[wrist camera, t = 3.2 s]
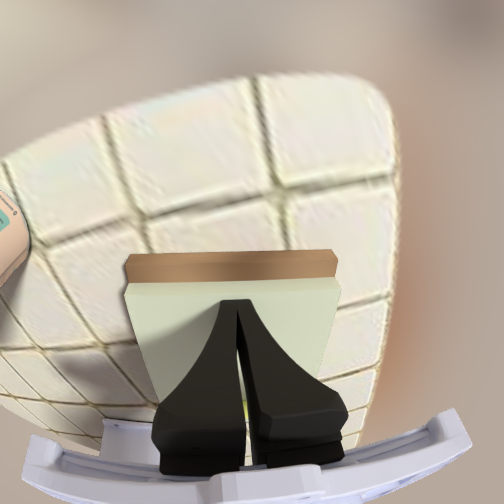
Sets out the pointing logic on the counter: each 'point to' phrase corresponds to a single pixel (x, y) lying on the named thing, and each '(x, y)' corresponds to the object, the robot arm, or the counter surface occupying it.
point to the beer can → (11, 237)
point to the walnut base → (230, 266)
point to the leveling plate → (205, 313)
